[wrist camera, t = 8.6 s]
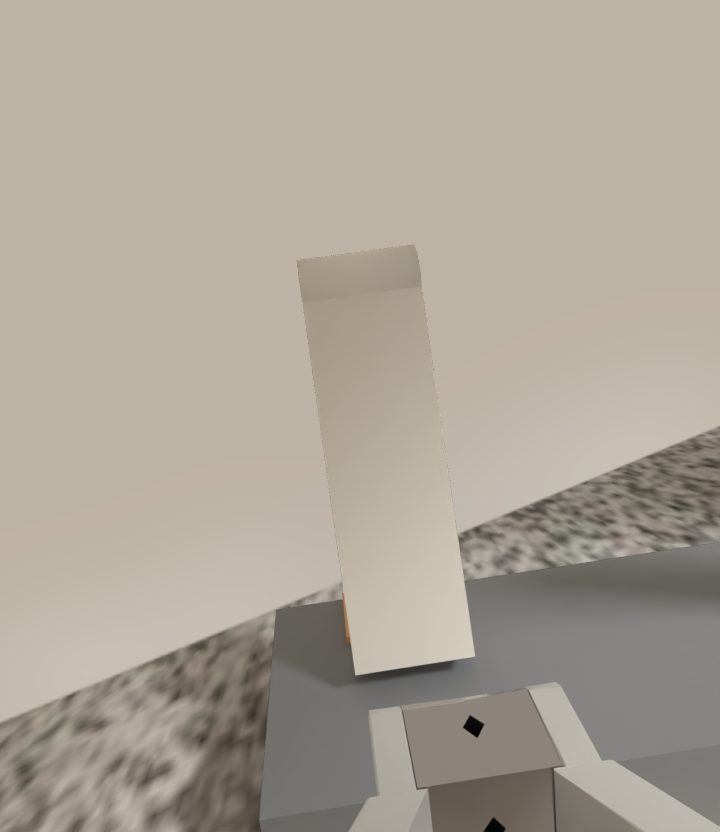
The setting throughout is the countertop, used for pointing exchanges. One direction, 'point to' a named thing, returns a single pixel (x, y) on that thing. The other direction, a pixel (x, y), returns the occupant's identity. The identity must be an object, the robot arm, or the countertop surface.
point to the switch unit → (514, 680)
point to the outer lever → (385, 459)
